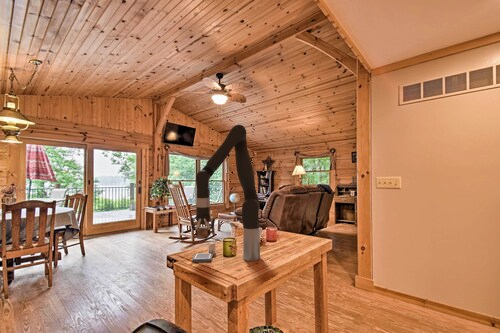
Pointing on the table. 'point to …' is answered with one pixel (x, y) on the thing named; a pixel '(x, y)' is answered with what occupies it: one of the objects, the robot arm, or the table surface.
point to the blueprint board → (202, 257)
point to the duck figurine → (261, 233)
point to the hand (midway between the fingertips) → (202, 236)
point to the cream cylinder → (212, 247)
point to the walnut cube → (202, 233)
